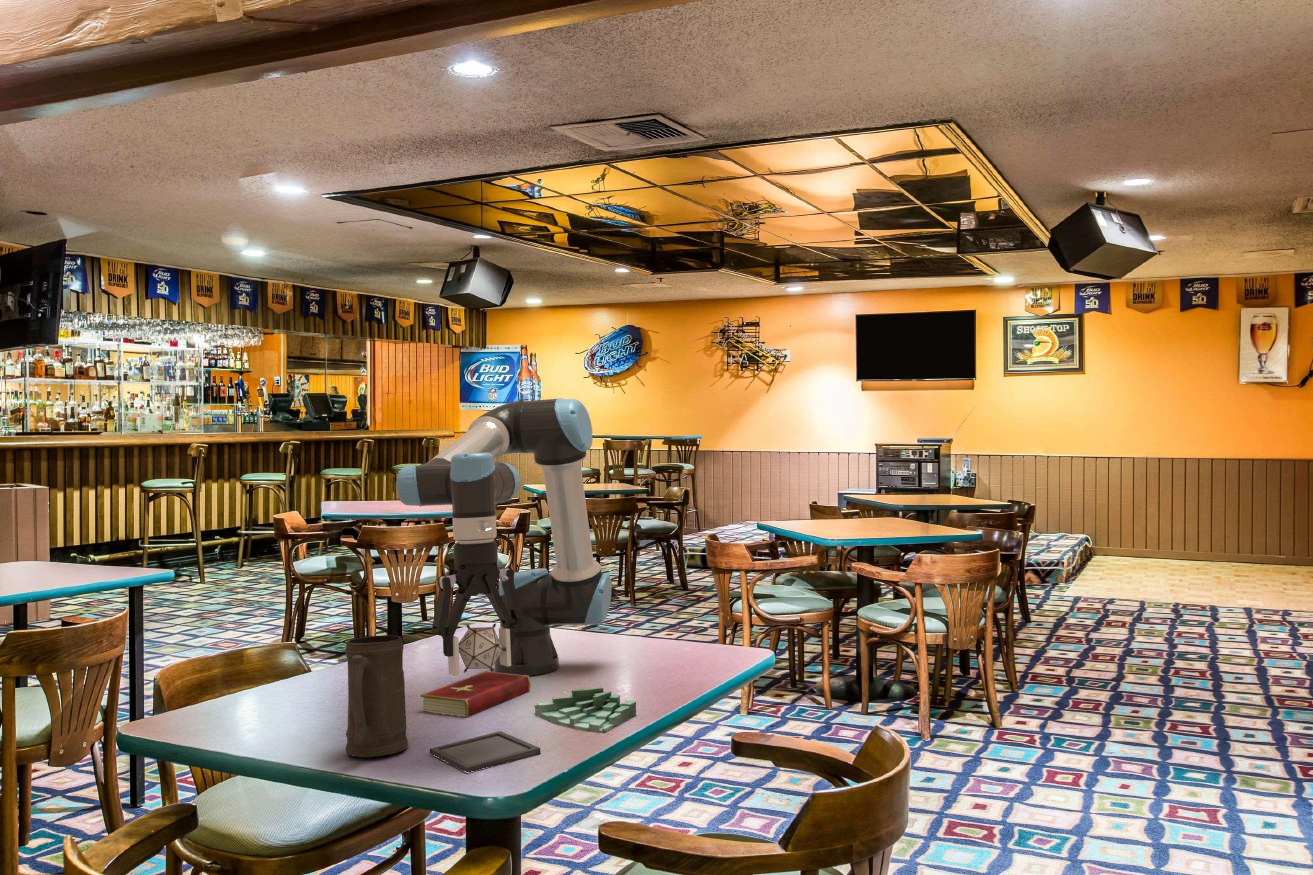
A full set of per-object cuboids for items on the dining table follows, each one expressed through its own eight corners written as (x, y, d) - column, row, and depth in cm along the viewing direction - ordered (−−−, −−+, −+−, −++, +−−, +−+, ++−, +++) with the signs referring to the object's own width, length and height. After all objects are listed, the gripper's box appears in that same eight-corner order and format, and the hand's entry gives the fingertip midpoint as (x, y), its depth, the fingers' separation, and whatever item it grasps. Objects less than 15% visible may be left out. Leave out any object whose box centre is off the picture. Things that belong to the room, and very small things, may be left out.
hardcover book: (530, 693, 215) (529, 674, 215) (467, 720, 196) (466, 698, 196) (486, 688, 220) (485, 669, 220) (421, 714, 202) (420, 693, 202)
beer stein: (353, 743, 182) (349, 634, 182) (413, 739, 183) (408, 630, 183) (333, 771, 167) (328, 652, 167) (399, 766, 168) (393, 648, 168)
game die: (491, 689, 175) (522, 639, 178) (477, 683, 168) (510, 631, 170) (450, 663, 178) (482, 614, 180) (435, 656, 170) (468, 605, 173)
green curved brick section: (647, 711, 196) (646, 687, 196) (605, 735, 182) (604, 708, 182) (561, 703, 206) (560, 679, 206) (515, 725, 191) (514, 699, 191)
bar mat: (429, 754, 174) (429, 748, 174) (500, 736, 183) (500, 730, 183) (467, 773, 163) (466, 767, 163) (540, 753, 172) (540, 747, 172)
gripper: (425, 548, 164) (431, 684, 164) (540, 536, 178) (545, 662, 177) (407, 545, 170) (412, 677, 170) (519, 534, 184) (524, 656, 183)
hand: (480, 669), depth 174 cm, fingers closed on game die, 9 cm apart
